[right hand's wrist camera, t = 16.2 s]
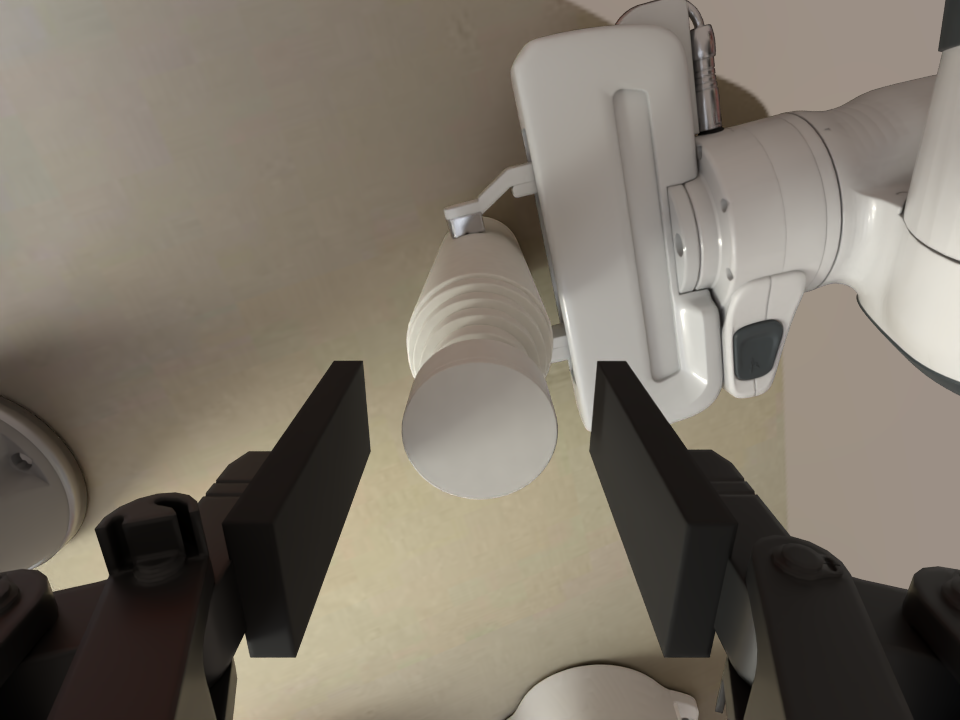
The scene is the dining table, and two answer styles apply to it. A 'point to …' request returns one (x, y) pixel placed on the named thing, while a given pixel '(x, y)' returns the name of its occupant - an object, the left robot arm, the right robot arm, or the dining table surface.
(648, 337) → the left robot arm
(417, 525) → the dining table surface
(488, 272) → the bottle
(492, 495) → the cap
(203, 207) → the dining table surface
